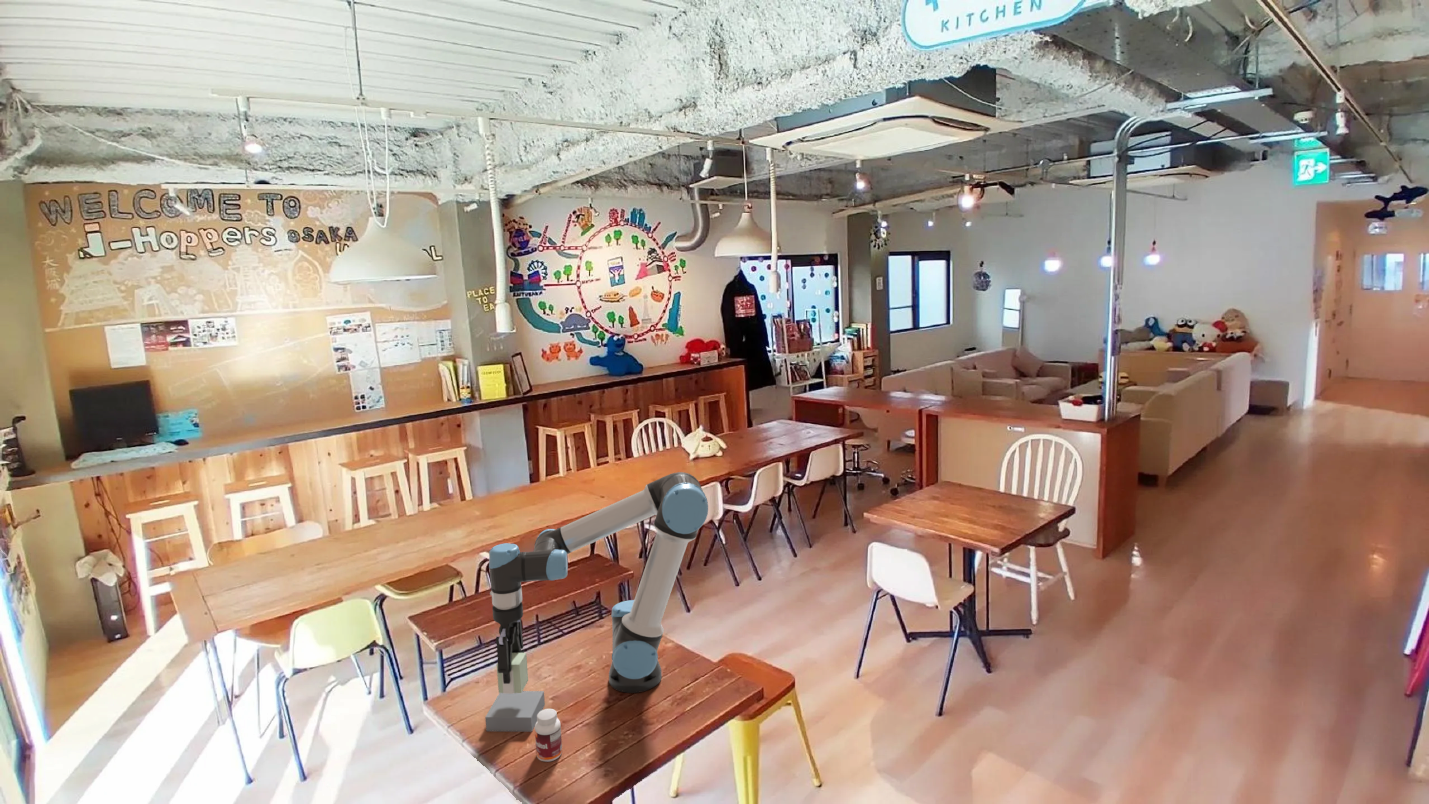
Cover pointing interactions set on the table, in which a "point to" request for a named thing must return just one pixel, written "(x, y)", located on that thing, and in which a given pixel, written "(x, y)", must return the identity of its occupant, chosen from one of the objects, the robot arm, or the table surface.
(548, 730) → the pill bottle
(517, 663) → the sage block
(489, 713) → the slate block
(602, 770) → the table surface
